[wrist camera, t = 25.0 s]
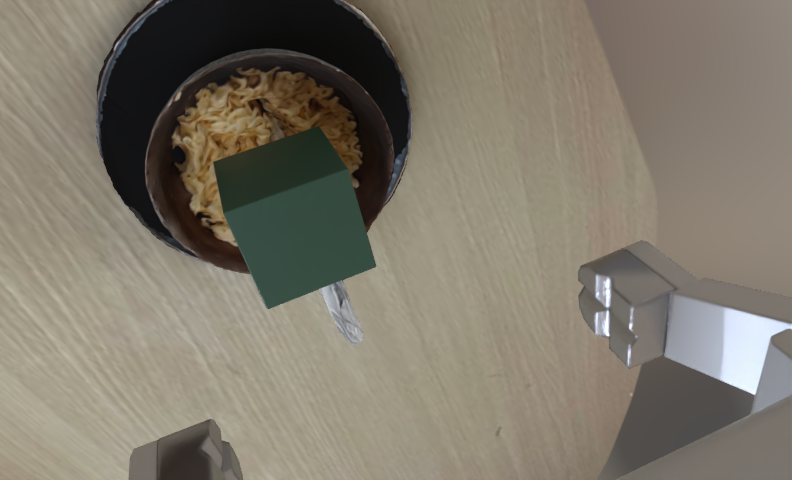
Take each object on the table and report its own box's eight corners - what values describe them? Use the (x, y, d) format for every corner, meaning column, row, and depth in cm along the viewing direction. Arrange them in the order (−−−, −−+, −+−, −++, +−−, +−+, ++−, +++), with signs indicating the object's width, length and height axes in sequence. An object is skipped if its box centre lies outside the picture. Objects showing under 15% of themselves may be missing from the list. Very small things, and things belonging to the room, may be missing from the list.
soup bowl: (420, -13, 28) (491, 13, 22) (381, 263, 35) (426, 338, 30) (75, -52, 22) (45, -31, 16) (117, 283, 30) (107, 379, 24)
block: (318, 124, 23) (348, 168, 20) (346, 214, 26) (376, 267, 22) (212, 161, 23) (222, 213, 19) (251, 249, 25) (267, 309, 22)
